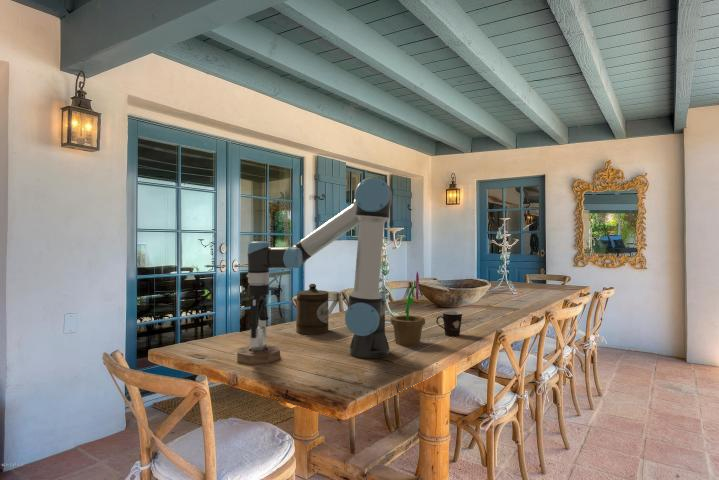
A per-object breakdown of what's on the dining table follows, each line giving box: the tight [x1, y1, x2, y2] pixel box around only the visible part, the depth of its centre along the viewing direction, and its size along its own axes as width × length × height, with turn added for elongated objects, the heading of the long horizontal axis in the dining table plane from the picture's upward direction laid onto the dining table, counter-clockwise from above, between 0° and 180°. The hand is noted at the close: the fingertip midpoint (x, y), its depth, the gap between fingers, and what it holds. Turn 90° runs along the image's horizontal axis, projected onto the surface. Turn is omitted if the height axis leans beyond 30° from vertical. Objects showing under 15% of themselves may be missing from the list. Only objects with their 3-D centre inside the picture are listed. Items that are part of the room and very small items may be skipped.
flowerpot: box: [390, 271, 426, 347], centre depth 188 cm, size 14×14×30 cm
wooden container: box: [295, 283, 329, 335], centre depth 210 cm, size 15×15×22 cm
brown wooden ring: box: [236, 343, 281, 365], centre depth 165 cm, size 15×15×3 cm
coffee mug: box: [436, 310, 463, 338], centre depth 203 cm, size 12×9×10 cm
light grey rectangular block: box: [252, 326, 266, 352], centre depth 165 cm, size 4×4×11 cm
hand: (258, 342), depth 165 cm, fingers open, 13 cm apart
